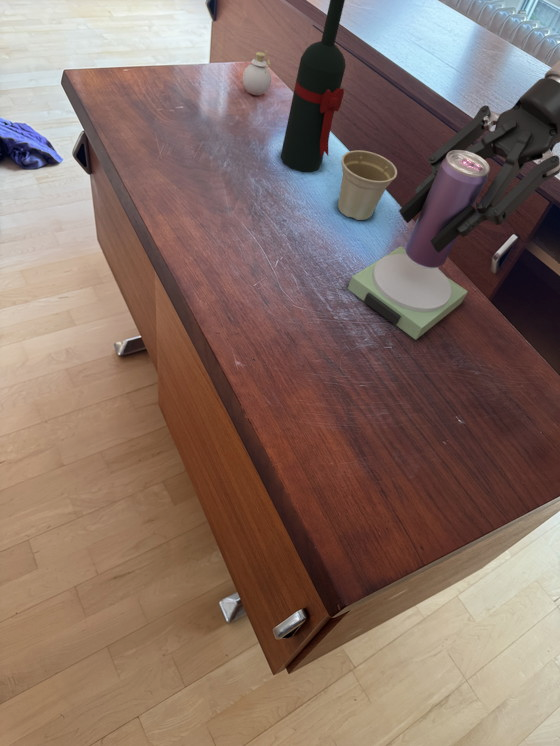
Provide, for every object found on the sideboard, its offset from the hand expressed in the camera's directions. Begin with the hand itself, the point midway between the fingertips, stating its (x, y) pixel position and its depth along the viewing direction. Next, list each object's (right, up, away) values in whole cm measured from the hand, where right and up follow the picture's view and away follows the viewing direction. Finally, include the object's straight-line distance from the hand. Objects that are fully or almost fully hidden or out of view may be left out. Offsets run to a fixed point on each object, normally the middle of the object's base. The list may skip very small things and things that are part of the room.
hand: (418, 231), depth 76 cm
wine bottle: (-14, +20, +31) cm, 40 cm away
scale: (+1, -7, +11) cm, 13 cm away
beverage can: (+2, -2, +6) cm, 7 cm away
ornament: (-24, +40, +45) cm, 65 cm away
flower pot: (-5, +10, +24) cm, 27 cm away
